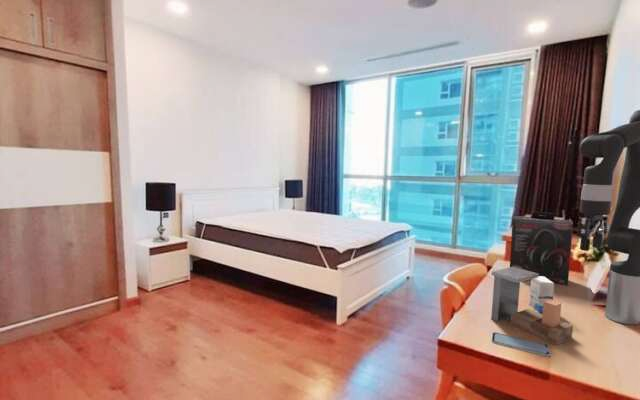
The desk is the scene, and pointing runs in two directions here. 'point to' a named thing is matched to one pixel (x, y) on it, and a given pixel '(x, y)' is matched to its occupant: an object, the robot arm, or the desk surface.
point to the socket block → (540, 327)
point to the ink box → (540, 292)
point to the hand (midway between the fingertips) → (590, 249)
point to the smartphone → (521, 344)
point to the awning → (508, 291)
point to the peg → (551, 313)
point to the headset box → (542, 246)
